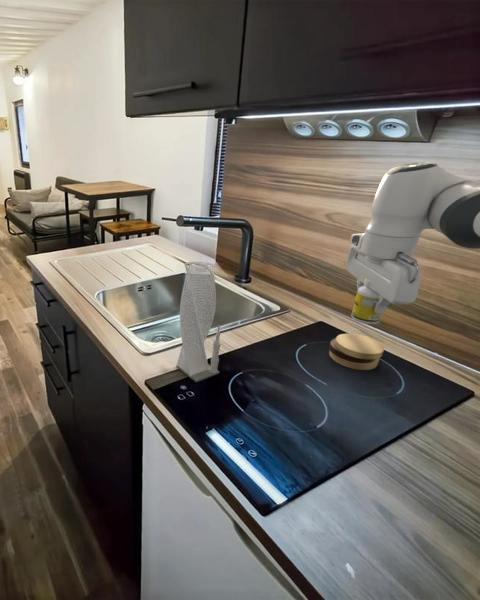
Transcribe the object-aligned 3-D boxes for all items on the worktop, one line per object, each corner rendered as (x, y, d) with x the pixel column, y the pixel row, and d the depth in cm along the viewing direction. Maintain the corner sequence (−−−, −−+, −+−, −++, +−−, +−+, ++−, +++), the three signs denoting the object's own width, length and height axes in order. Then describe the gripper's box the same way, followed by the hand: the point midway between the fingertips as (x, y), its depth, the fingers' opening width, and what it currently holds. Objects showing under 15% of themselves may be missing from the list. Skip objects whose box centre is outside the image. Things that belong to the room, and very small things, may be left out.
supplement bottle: (353, 311, 87) (364, 273, 83) (381, 318, 83) (395, 278, 79) (347, 320, 83) (359, 280, 79) (377, 327, 80) (390, 286, 76)
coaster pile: (364, 348, 91) (369, 332, 90) (387, 371, 83) (393, 354, 81) (321, 346, 93) (325, 331, 91) (339, 369, 84) (343, 352, 83)
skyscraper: (191, 384, 83) (201, 268, 71) (168, 366, 89) (174, 257, 78) (219, 373, 86) (233, 260, 74) (195, 356, 92) (205, 250, 81)
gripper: (440, 262, 66) (415, 328, 72) (377, 232, 84) (361, 287, 90) (401, 262, 67) (379, 327, 73) (347, 233, 86) (333, 287, 91)
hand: (369, 305), depth 82 cm, fingers closed on supplement bottle, 5 cm apart
